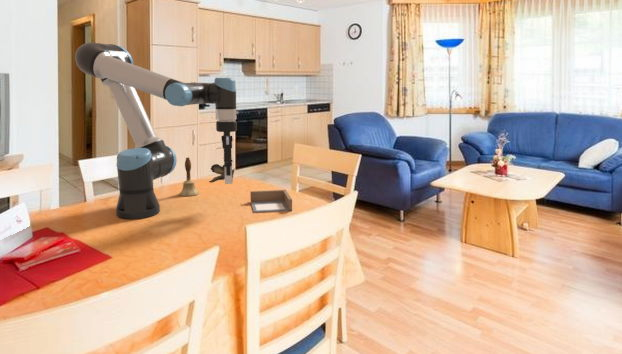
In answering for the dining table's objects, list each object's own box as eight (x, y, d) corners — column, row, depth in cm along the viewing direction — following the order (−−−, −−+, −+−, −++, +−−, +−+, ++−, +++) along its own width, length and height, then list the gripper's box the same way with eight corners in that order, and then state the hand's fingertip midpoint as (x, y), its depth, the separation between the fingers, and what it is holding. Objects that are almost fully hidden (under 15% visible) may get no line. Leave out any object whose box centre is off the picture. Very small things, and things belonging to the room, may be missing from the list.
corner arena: (254, 212, 163) (253, 201, 162) (250, 201, 177) (250, 191, 176) (292, 210, 166) (292, 199, 165) (285, 200, 180) (285, 189, 179)
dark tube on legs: (233, 175, 170) (210, 171, 168) (235, 162, 165) (211, 158, 163) (231, 189, 164) (207, 186, 163) (233, 177, 160) (208, 172, 158)
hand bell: (178, 192, 190) (176, 156, 187) (197, 190, 194) (195, 155, 190) (181, 197, 183) (178, 160, 180) (200, 195, 186) (199, 158, 183)
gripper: (238, 123, 151) (239, 187, 156) (235, 118, 170) (236, 175, 175) (216, 123, 149) (218, 188, 154) (215, 118, 168) (217, 176, 173)
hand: (228, 181), depth 165 cm, fingers closed on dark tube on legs, 7 cm apart
